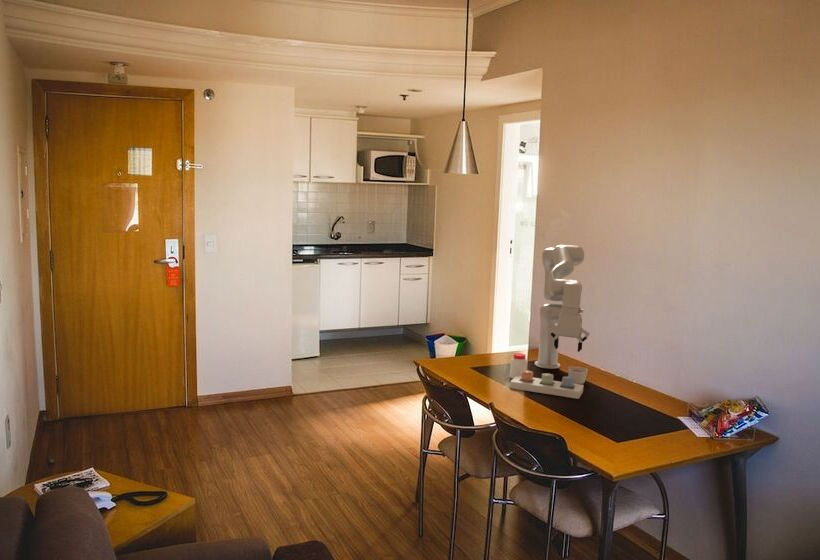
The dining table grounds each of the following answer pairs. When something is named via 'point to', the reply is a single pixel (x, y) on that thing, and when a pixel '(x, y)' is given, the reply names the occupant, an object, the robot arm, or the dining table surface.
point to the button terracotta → (527, 376)
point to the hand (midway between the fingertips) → (567, 349)
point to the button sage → (547, 379)
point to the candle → (577, 374)
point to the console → (547, 387)
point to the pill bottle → (518, 365)
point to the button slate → (567, 382)
